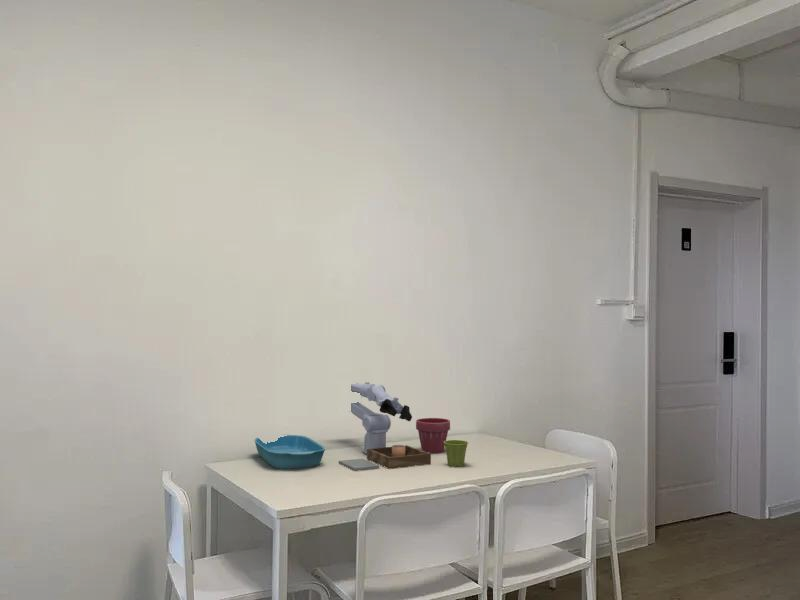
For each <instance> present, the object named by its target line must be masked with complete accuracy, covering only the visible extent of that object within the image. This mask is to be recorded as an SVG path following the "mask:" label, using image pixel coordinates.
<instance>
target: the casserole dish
mask: <svg viewBox="0 0 800 600" xmlns="http://www.w3.org/2000/svg"><path fill="white" fill-rule="evenodd" d="M286 435H287V436H284V437H280V438H278V440H277V441H275V442H270V443H268V442H267V444H265V443H263V442H262V441H261V440H260V439H259V438H258V437H256V438H255V439H254V443H255V447H256V450H257V453H258V455H259V457H261V458H262V459H263V460H265V462H266V463H268V464H269V465H270V466H272V467H274V468H275V469H278V468H279V469H278V470H293V469H292V468H294V469H304V468H305V467H306V468H312V467H313V468H314V467H317V466H318V465H320V463H321V462H322V459H323V456H324V453H325V451H326V447H325V446H324V445H322V444H320V443H318V442H317V441H315V440H314V439H312V438H310V437H308V436H306V435H298V434H286ZM306 468H305V469H306Z"/></svg>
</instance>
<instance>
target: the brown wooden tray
mask: <svg viewBox="0 0 800 600" xmlns="http://www.w3.org/2000/svg"><path fill="white" fill-rule="evenodd" d="M404 446H405V456H397V457H392V446H386V447H384V448H373V449H367V454H366V460H367V459H368V460H367V461H370V460H371V461H370V462H372V461H373V462H372V463H374V462H375V463H374V464H377V463H378V464H377V465H379V464H380V465H379V466H381V465H383V466H382V467H384V466H385V467H384V468H386V467H387V468H386V469H388V468H392V469H399V468H398V467H401V468H406V467H405V466H410V467H416V466H415V465H419V466H425V465H424V464H428V465H431V463H432V459H431V458H432V457H431V456H432V453H428V452H425V451H422V449H419V448H415V447H413V446H410V445H404Z"/></svg>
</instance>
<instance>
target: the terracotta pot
mask: <svg viewBox="0 0 800 600" xmlns="http://www.w3.org/2000/svg"><path fill="white" fill-rule="evenodd" d="M391 447H392V457H397V456H405V445H404V444H403V445H402V444H393V445H391Z"/></svg>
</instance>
